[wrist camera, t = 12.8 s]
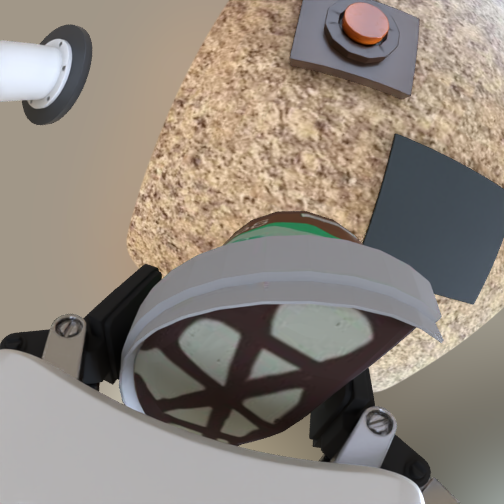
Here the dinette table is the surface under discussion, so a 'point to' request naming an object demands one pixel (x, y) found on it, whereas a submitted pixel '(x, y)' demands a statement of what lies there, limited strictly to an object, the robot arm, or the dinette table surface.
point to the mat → (438, 219)
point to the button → (365, 23)
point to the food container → (268, 327)
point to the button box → (357, 47)
